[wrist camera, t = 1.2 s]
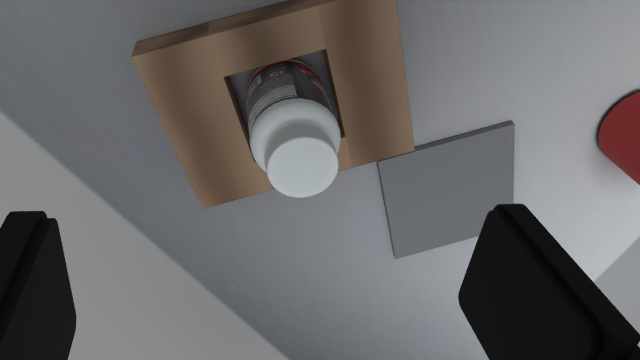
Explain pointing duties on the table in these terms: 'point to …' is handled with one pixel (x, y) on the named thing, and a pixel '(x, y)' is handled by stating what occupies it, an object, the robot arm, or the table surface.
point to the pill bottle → (292, 128)
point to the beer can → (623, 136)
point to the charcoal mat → (447, 188)
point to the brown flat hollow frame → (267, 48)
